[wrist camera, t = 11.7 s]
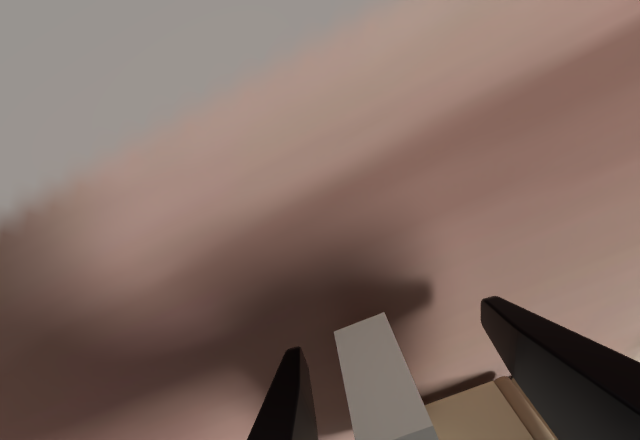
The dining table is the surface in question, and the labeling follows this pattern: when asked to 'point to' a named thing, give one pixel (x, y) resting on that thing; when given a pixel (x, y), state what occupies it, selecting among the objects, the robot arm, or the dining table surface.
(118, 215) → the dining table surface
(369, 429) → the flap
